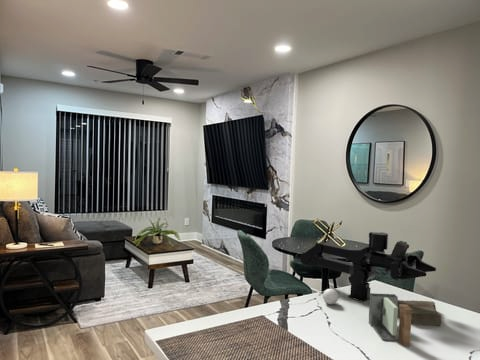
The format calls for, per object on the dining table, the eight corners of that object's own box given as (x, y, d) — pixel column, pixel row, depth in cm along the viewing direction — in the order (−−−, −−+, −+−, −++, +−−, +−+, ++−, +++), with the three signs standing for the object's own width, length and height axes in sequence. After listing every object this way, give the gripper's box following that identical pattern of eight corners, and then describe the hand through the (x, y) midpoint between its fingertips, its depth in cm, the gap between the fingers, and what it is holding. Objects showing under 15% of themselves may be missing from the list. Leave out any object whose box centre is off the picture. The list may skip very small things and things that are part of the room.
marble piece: (434, 311, 131) (434, 299, 131) (452, 329, 116) (453, 316, 116) (387, 307, 133) (387, 296, 133) (399, 324, 119) (400, 312, 118)
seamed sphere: (319, 302, 135) (319, 287, 134) (330, 300, 137) (331, 285, 137) (333, 310, 128) (333, 294, 128) (345, 307, 130) (345, 292, 130)
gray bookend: (368, 323, 118) (370, 293, 118) (393, 324, 118) (394, 294, 117) (381, 340, 106) (383, 307, 106) (408, 341, 106) (410, 308, 106)
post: (397, 339, 107) (399, 304, 107) (404, 339, 107) (406, 304, 107) (403, 346, 103) (405, 309, 103) (410, 346, 103) (412, 310, 103)
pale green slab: (379, 323, 114) (381, 297, 114) (386, 323, 114) (387, 297, 114) (389, 335, 106) (391, 307, 106) (396, 335, 106) (398, 307, 106)
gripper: (375, 243, 126) (422, 252, 115) (397, 237, 139) (441, 244, 128) (373, 274, 127) (420, 286, 115) (396, 265, 139) (439, 275, 128)
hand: (431, 271), depth 122 cm, fingers open, 9 cm apart
